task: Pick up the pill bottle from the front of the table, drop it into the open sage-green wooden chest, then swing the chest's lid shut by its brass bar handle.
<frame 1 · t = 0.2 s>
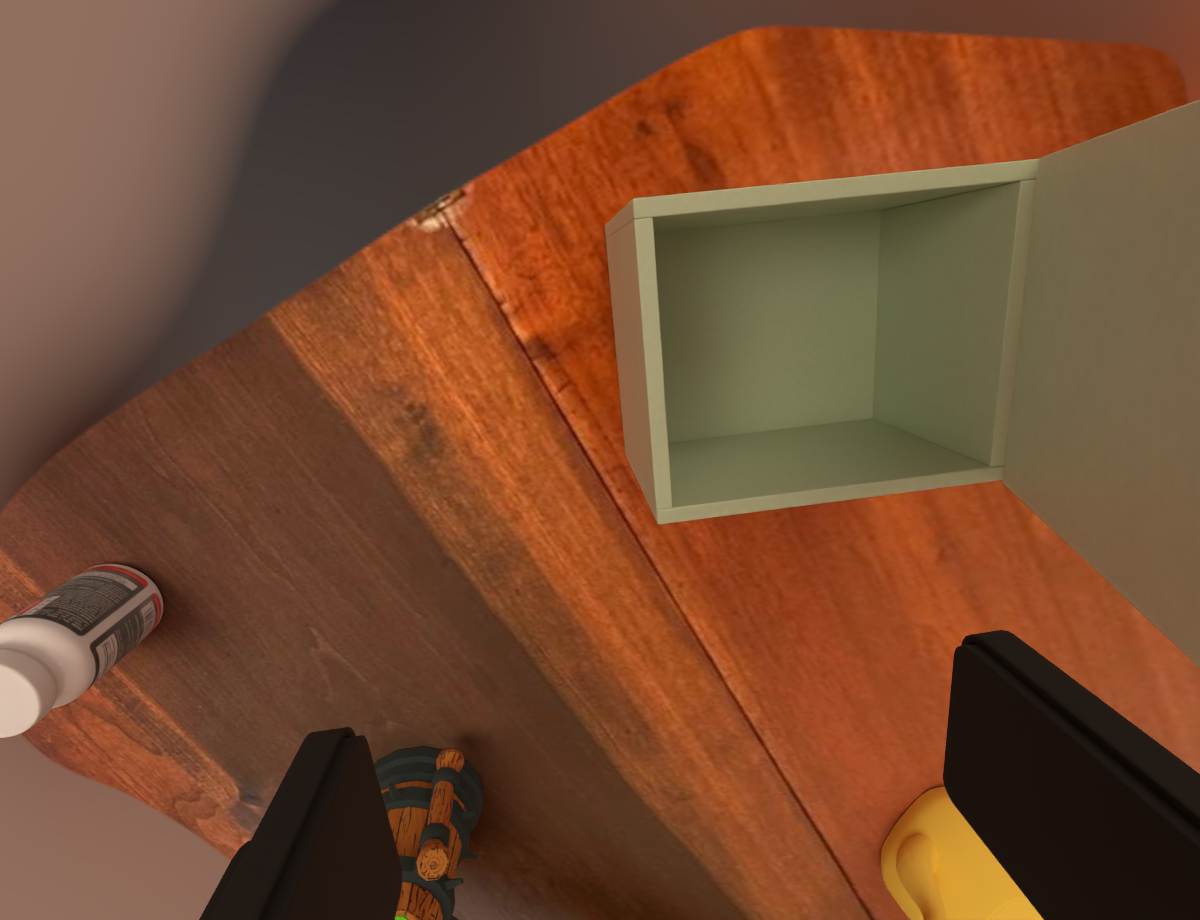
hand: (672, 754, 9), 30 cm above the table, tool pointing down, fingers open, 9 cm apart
teapot: (938, 846, 53), on the table
mug: (430, 780, 46), on the table
pill bottle: (123, 597, 39), on the table
chest: (750, 332, 38), on the table
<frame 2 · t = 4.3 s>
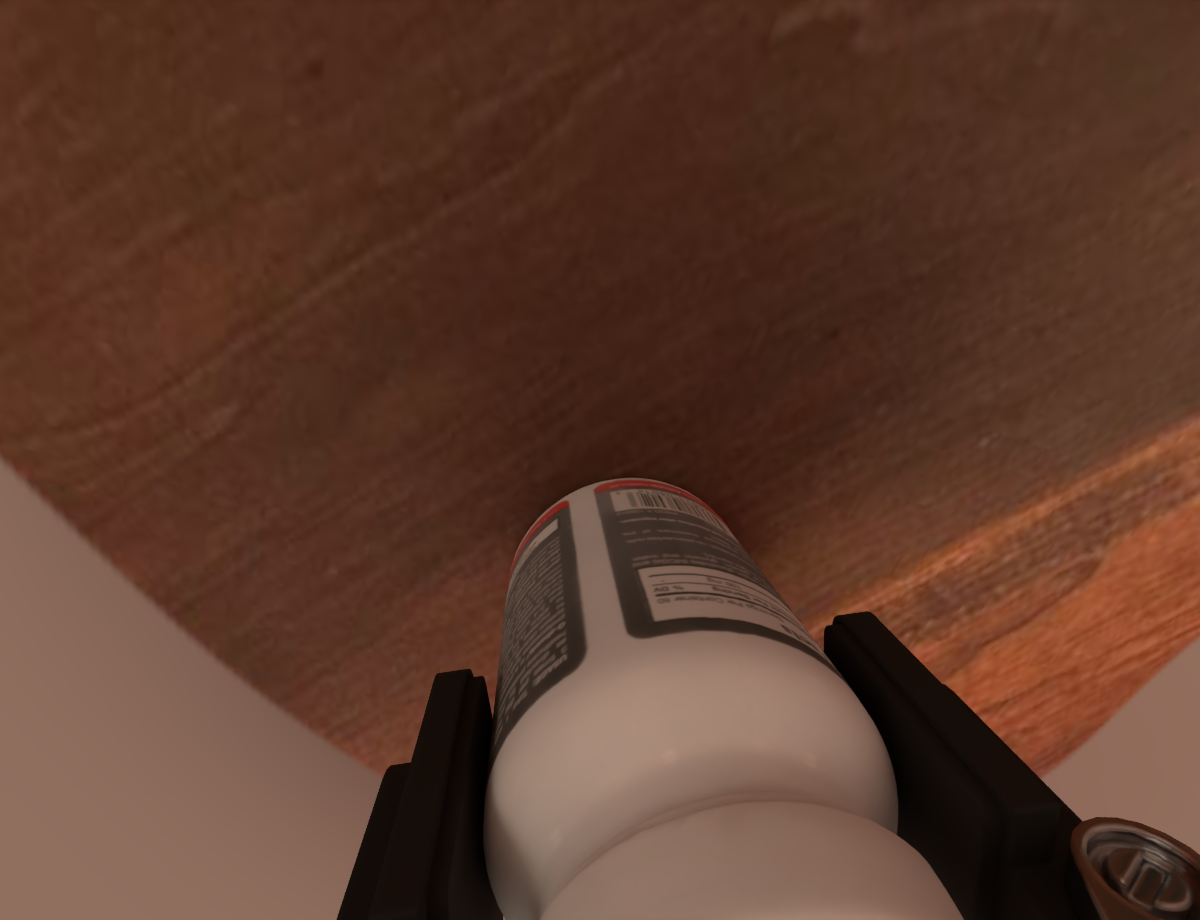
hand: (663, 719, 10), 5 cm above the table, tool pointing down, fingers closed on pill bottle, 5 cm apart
pill bottle: (623, 574, 15), on the table, touching gripper
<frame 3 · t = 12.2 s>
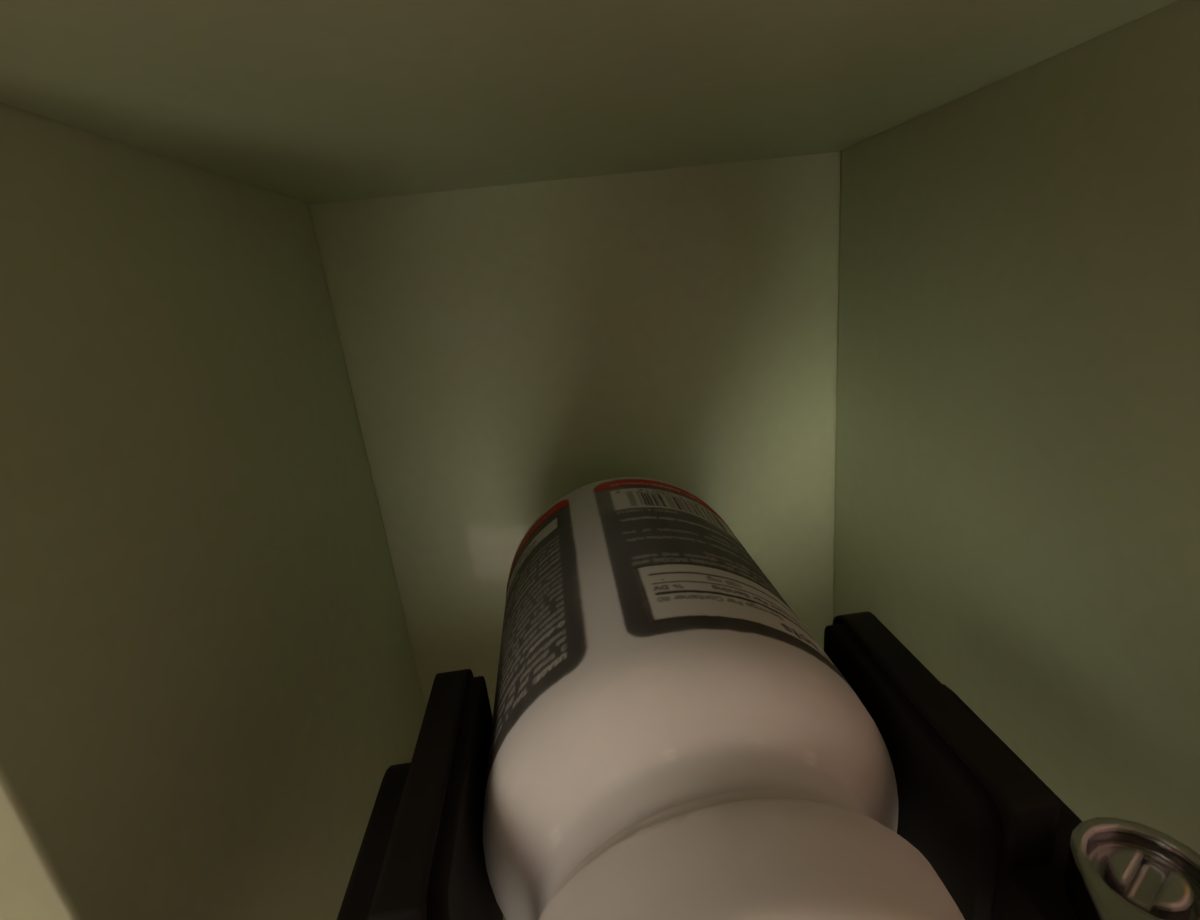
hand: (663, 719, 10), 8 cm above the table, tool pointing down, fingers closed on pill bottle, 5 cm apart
pill bottle: (623, 574, 15), point 3 cm above the table, touching gripper
chest: (610, 476, 17), on the table
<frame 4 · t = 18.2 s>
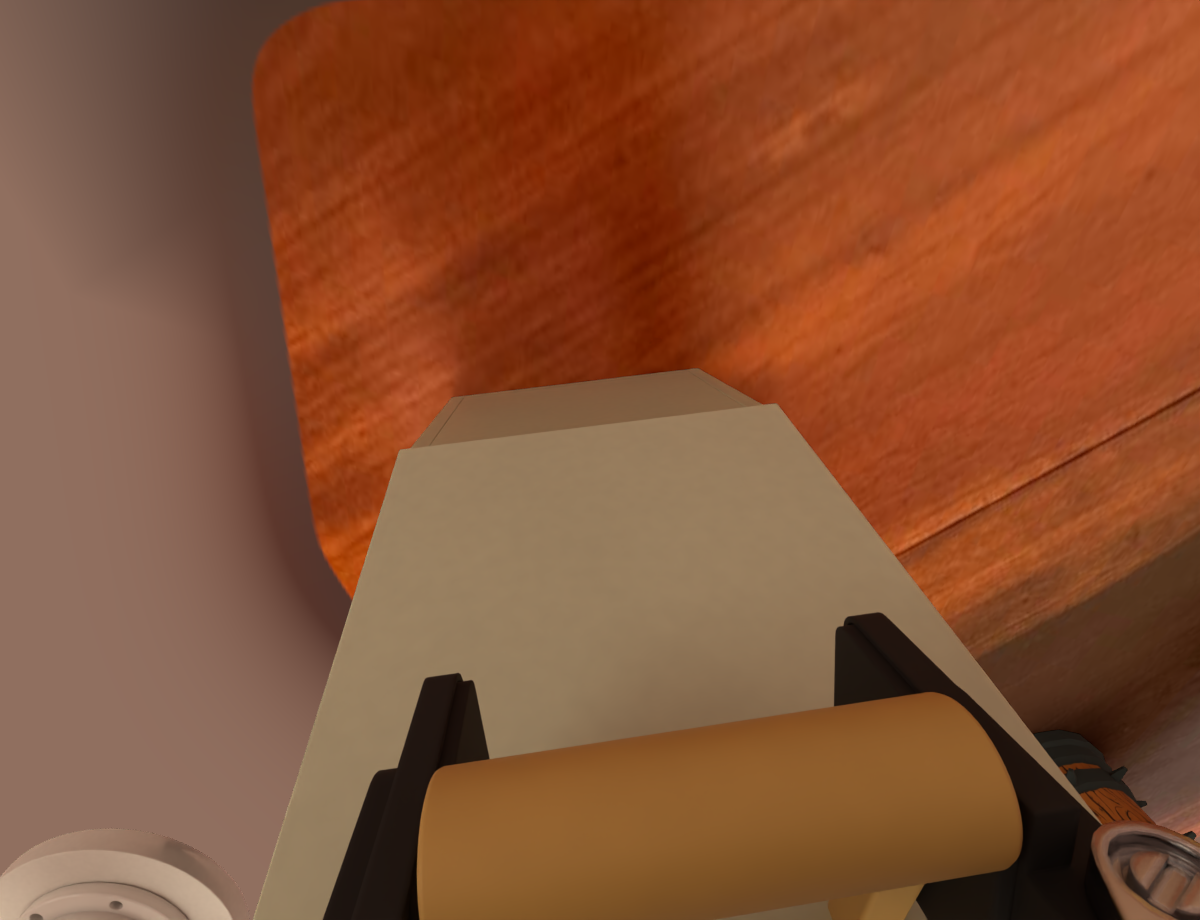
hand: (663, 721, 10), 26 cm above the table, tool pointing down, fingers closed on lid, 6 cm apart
mug: (1025, 771, 47), on the table
chest: (592, 520, 37), on the table
lid: (624, 543, 13), point 22 cm above the table, hinge at 73.2°, touching gripper
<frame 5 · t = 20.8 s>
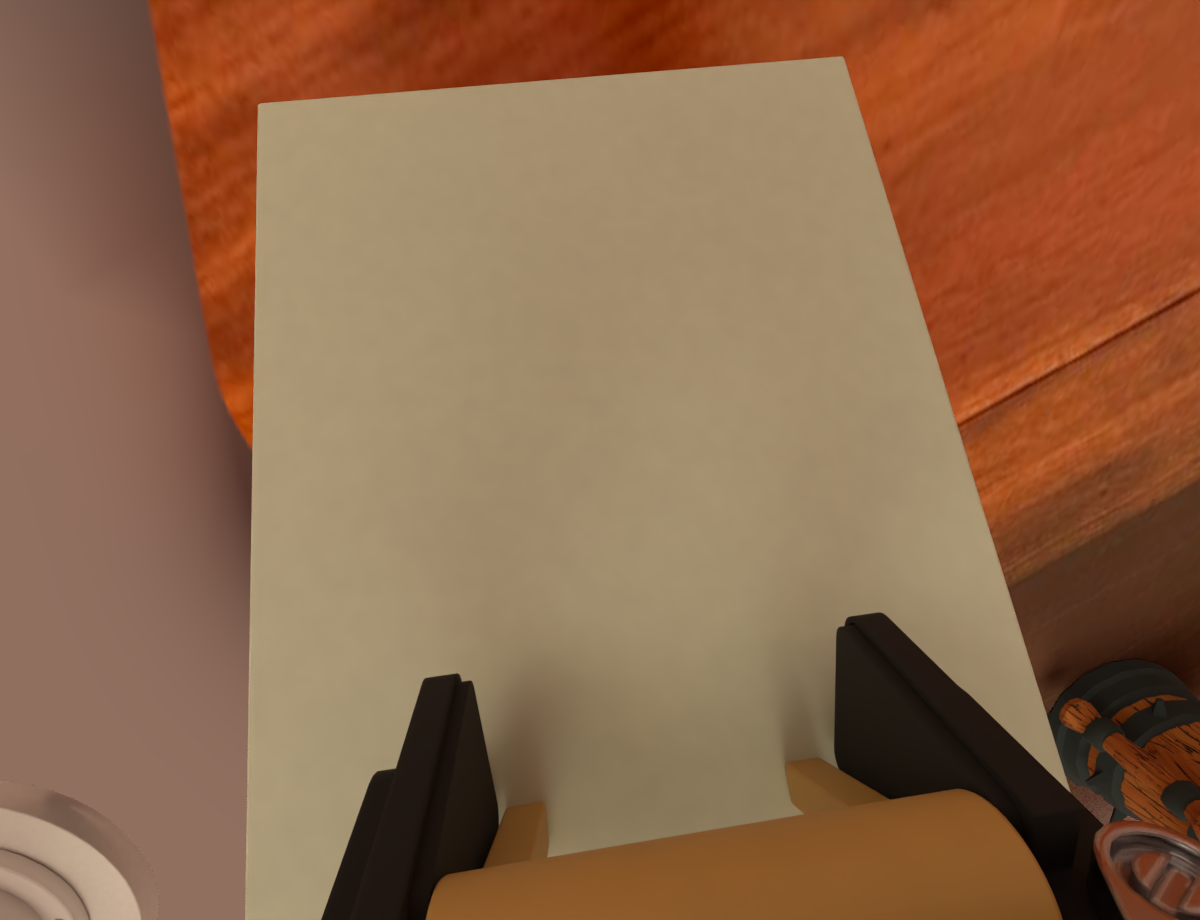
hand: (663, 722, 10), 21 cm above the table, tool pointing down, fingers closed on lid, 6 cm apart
mug: (1093, 711, 39), on the table
lid: (620, 390, 10), point 19 cm above the table, hinge at 31.7°, touching gripper
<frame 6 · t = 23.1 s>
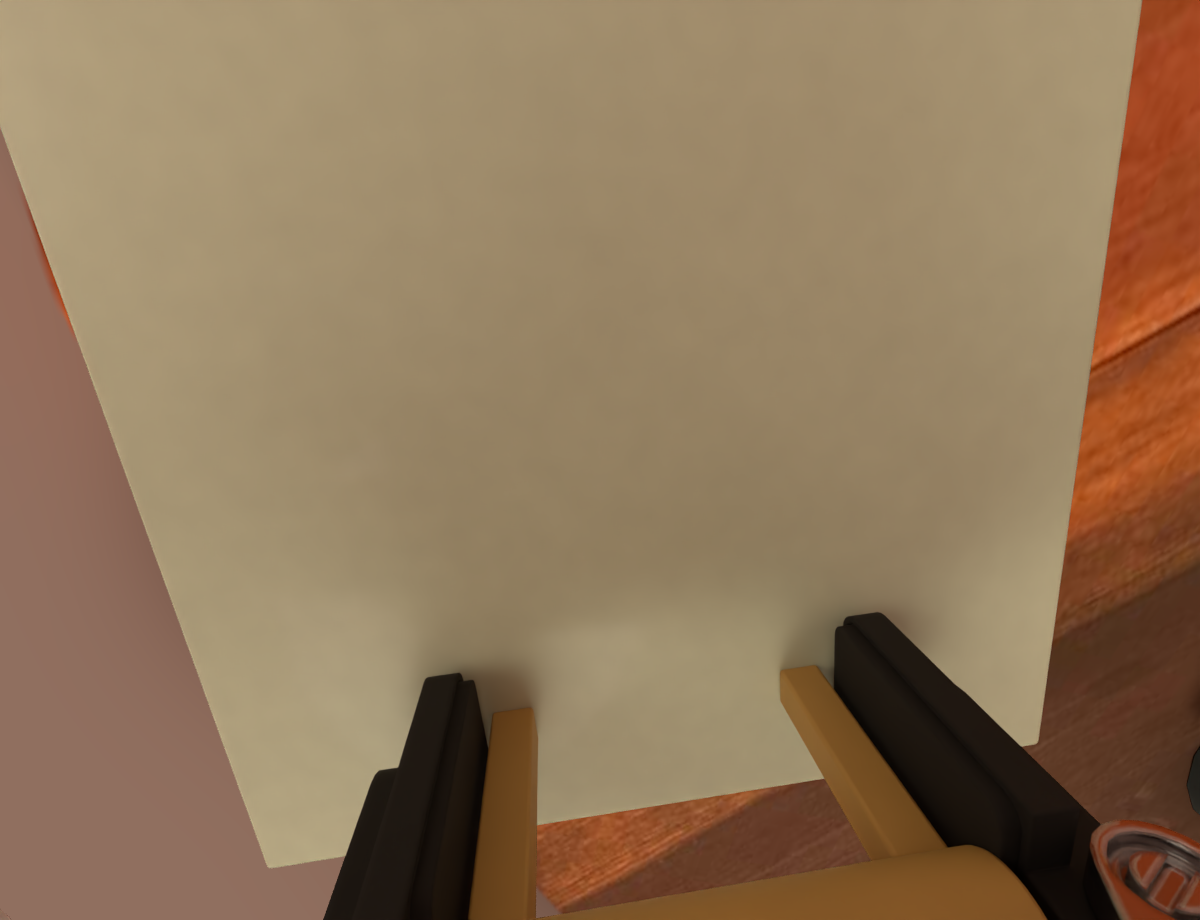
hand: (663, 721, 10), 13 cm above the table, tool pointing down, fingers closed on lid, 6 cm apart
lid: (648, 292, 6), point 15 cm above the table, hinge at 0.3°, touching gripper
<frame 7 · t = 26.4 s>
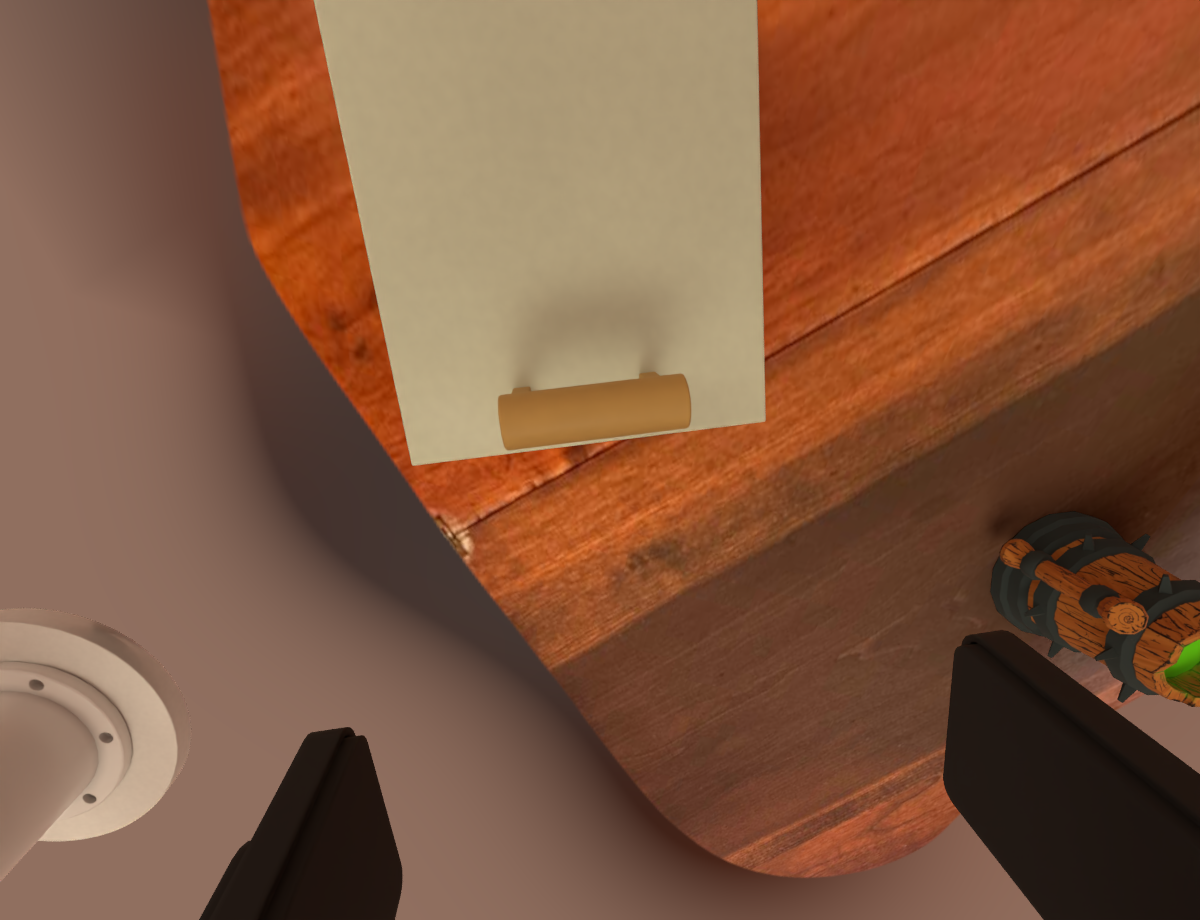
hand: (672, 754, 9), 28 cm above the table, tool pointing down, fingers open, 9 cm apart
mug: (1036, 563, 43), on the table
lid: (566, 189, 19), point 15 cm above the table, hinge at 0.0°
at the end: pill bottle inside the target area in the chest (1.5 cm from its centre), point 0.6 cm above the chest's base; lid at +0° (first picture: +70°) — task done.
